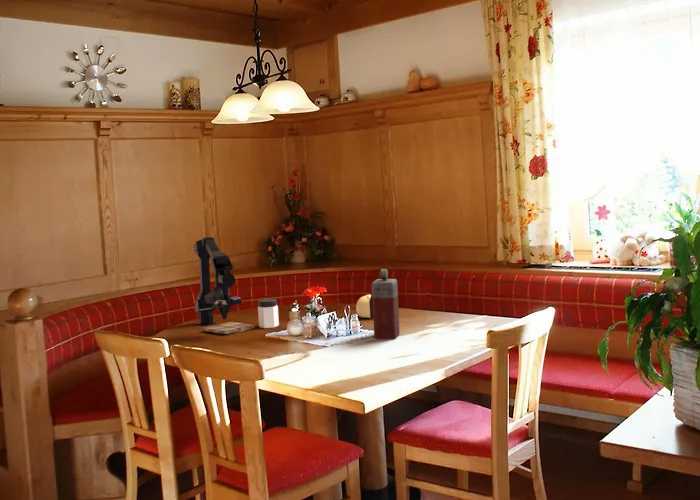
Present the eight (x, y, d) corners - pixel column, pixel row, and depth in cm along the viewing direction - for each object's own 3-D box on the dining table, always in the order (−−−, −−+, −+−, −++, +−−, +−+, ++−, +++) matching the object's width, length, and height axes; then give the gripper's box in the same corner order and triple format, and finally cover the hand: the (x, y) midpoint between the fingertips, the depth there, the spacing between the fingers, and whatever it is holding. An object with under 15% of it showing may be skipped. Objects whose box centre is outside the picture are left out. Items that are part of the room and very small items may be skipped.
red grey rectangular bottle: (373, 333, 323) (370, 267, 320) (399, 334, 320) (396, 267, 317) (368, 338, 314) (365, 270, 311) (395, 339, 311) (392, 270, 308)
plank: (201, 330, 344) (201, 327, 344) (215, 328, 351) (215, 325, 350) (225, 334, 334) (225, 331, 334) (239, 331, 340) (239, 328, 340)
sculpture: (382, 319, 353) (381, 295, 352) (356, 320, 354) (355, 297, 352) (382, 314, 365) (381, 291, 364) (356, 315, 365) (355, 293, 364)
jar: (282, 325, 349) (280, 299, 348) (267, 329, 344) (265, 302, 343) (271, 323, 356) (269, 297, 355) (256, 326, 351) (254, 300, 349)
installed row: (216, 328, 351) (216, 325, 351) (231, 324, 358) (231, 321, 357) (240, 331, 341) (239, 328, 340) (254, 328, 347) (254, 324, 347)
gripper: (193, 285, 334) (196, 320, 336) (221, 288, 322) (224, 324, 324) (213, 281, 343) (215, 316, 344) (241, 284, 331) (244, 319, 332)
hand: (224, 319), depth 336 cm, fingers closed
